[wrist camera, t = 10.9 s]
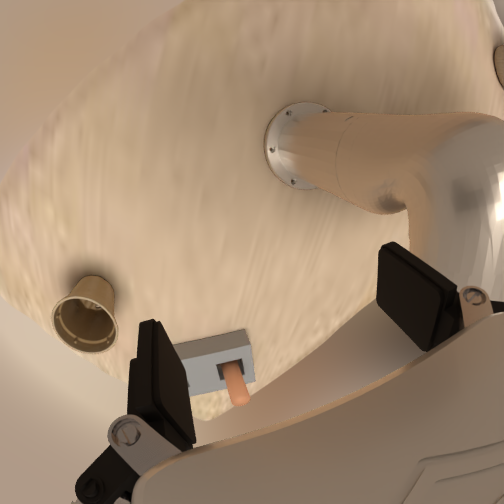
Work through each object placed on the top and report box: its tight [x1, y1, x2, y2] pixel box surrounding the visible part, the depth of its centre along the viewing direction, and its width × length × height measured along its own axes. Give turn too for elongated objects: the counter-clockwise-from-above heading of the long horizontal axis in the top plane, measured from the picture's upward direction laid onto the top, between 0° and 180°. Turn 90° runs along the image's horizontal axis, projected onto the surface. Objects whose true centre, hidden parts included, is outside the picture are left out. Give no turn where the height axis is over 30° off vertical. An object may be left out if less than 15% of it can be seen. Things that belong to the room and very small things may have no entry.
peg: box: [220, 360, 250, 406], centre depth 46 cm, size 3×3×11 cm
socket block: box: [173, 329, 256, 397], centre depth 48 cm, size 18×10×4 cm, turn 96°
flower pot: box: [52, 276, 118, 354], centre depth 35 cm, size 9×9×9 cm
